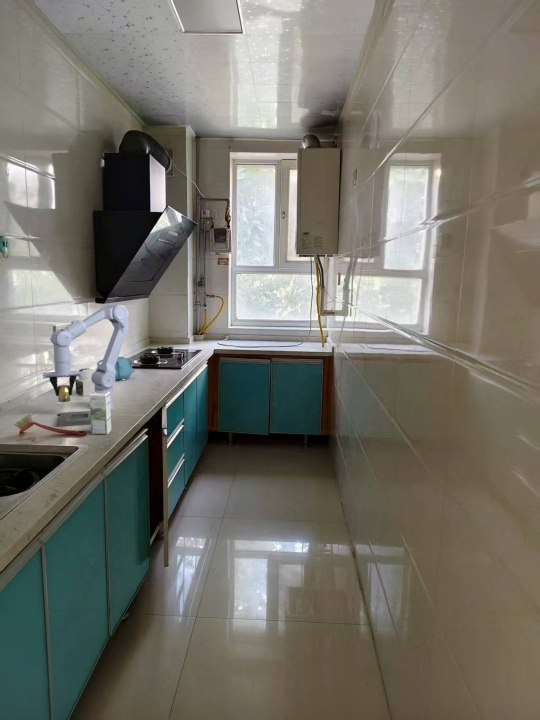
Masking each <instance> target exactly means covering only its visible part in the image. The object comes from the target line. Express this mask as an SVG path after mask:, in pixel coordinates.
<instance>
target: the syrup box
mask: <svg viewBox="0 0 540 720" xmlns="http://www.w3.org/2000/svg"><path fill="white" fill-rule="evenodd" d="M89 409H90V410H89V411H90V415H91V425H90V432H91V435H108V434H109V433H110V432H111V431H112V418H111V417H112V415H111V410H110V392H93V393H91V394H90V395H89Z"/></svg>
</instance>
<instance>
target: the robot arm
mask: <svg viewBox="0 0 540 720" xmlns="http://www.w3.org/2000/svg"><path fill="white" fill-rule="evenodd" d="M129 316H130V312H129V311H128V309H127V307H126V306H124V305H122V304H112V303H109V304H106V305H105V306H102V307H100V308H99V309H98V310H96V311H95V312H93V313H92V314H90V315H89V316H87V317H86V318H85V319H83V320H82V321H81V320H78V319H77V320H72V321H71V323H70V324H68V325H67V326H65V327H61V328H60V330H55V331H53V333H52V334H51V335H50V338H49V340H50V342H51V343H52V344H53V345H52V346H53V364H54V371H51V372H50V371H49V372H42V379H49V383H50V384H51V386H52V387H53V390H54V393H55V396H56V397H58V386H59V385H58V378H68V380H69V386H70V396H72V395H73V389H74V385H75V384H76V383H75V380H76V379H77V377H78V378H79V376H80V377H83V371H79V370H78V371H76V370H71V359H70V358H71V357H70V356H71V355H70V345H71V343H72V341H74V340H76V339H77V338H79V337H80V336H81V335H83V334H85V333H86V332H87V329H88V328H89V327H92V326H93V325H95V324H97V323H98V322H101V321H102V320H108V321H109V322H110V323H111V324H112V326H113V331H112V334H111V336H110V340H109V342H108V345H107V348H106V350H105V354H104V355H103V359H102V360H103V361H102V362H100V364H99V366H97V367H96V370H95V371H94V372H92V377H91V379H92V382H93V383H94V384H95V392H110V411H111V410H115V402H114V392H113V391H114V388H113V387H114V386H115V383H116V380H115V374H116V371H115V364H116V362H117V359H118V357H120V356H119V355H120V352H121V350H122V348H123V344H124V342H125V339H126V337H127V334H128V332H129V328H130V327H129Z"/></svg>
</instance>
